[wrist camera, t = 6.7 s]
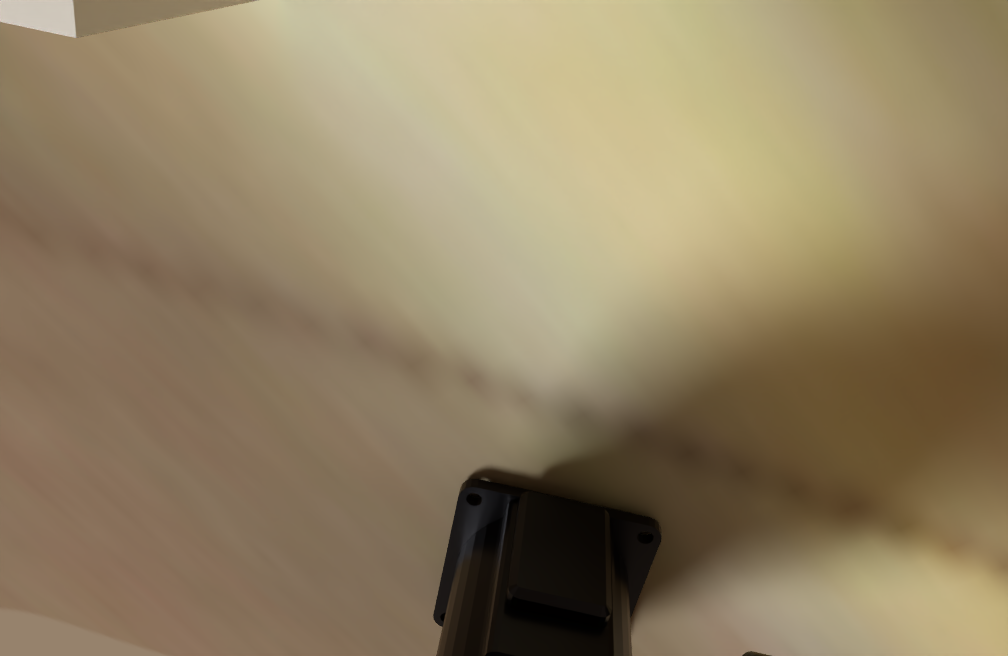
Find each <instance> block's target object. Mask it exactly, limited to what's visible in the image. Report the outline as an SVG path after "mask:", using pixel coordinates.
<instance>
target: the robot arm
mask: <svg viewBox="0 0 1008 656" xmlns="http://www.w3.org/2000/svg"><path fill="white" fill-rule="evenodd" d="M471 493H476V494H478V495H480V496H481V497H473V496H471V495H470V494H471ZM641 532H650V534H647V535H642V534H640V533H641ZM660 542H661V527H660V525H659V523H658V522H657V521H656V520H655V519H652V518H650V517H646V516H642V515H637V514H633V513H628V512H624V511H619V510H615V509H610V508H606V507H601V506H597V505H592V504H588V503H583V502H579V501H574V500H570V499H565V498H561V497H556V496H552V495H547V494H543V493H538V492H534V491H529V490H525V489H520V488H516V487H511V486H507V485H502V484H498V483H493V482H489V481H484V480H480V479H470V480H467V481H465V482H464V483H463V484H462V486H461V488H460V492H459V497H458V501H457V506H456V511H455V515H454V520H453V525H452V530H451V534H450V539H449V544H448V548H447V553H446V558H445V563H444V567H443V572H442V577H441V582H440V586H439V591H438V596H437V600H436V605H435V610H434V615H433V616H434V620H435V622H436V623H437V624H438V625H440V626H442V627H443V628H442V633H441V637H440V642H439V646H438V651H437V655H436V656H632V647H631V627H630V618H631V616H632V613H633V610H634V608H635V605H636V603H637V600H638V598H639V595H640V593H641V590H642V588H643V585H644V583H645V580H646V578H647V575H648V573H649V570H650V568H651V565H652V562H653V560H654V557H655V555H656V552H657V550H658V547H659V545H660ZM743 656H771V655H766V654H762V653H757V652H753V651H750V652H746V653H745V654H744V655H743Z"/></svg>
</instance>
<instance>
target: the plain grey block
mask: <svg viewBox="0 0 1008 656" xmlns="http://www.w3.org/2000/svg"><path fill="white" fill-rule="evenodd" d="M253 1H257V0H0V22H4V23H8V24H13V25H18V26H23V27H27V28H32V29H37V30H41V31H46V32H51V33H55V34H60V35H65V36H69V37H74V38H79V37H83V36H88V35H93V34H98V33H103V32H108V31H112V30H117V29H122V28H127V27H132V26H137V25H141V24H146V23H151V22H156V21H161V20H166V19H170V18H175V17H180V16H185V15H190V14H195V13H199V12H204V11H209V10H214V9H219V8H224V7H228V6H233V5H238V4H243V3H248V2H253Z"/></svg>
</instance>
